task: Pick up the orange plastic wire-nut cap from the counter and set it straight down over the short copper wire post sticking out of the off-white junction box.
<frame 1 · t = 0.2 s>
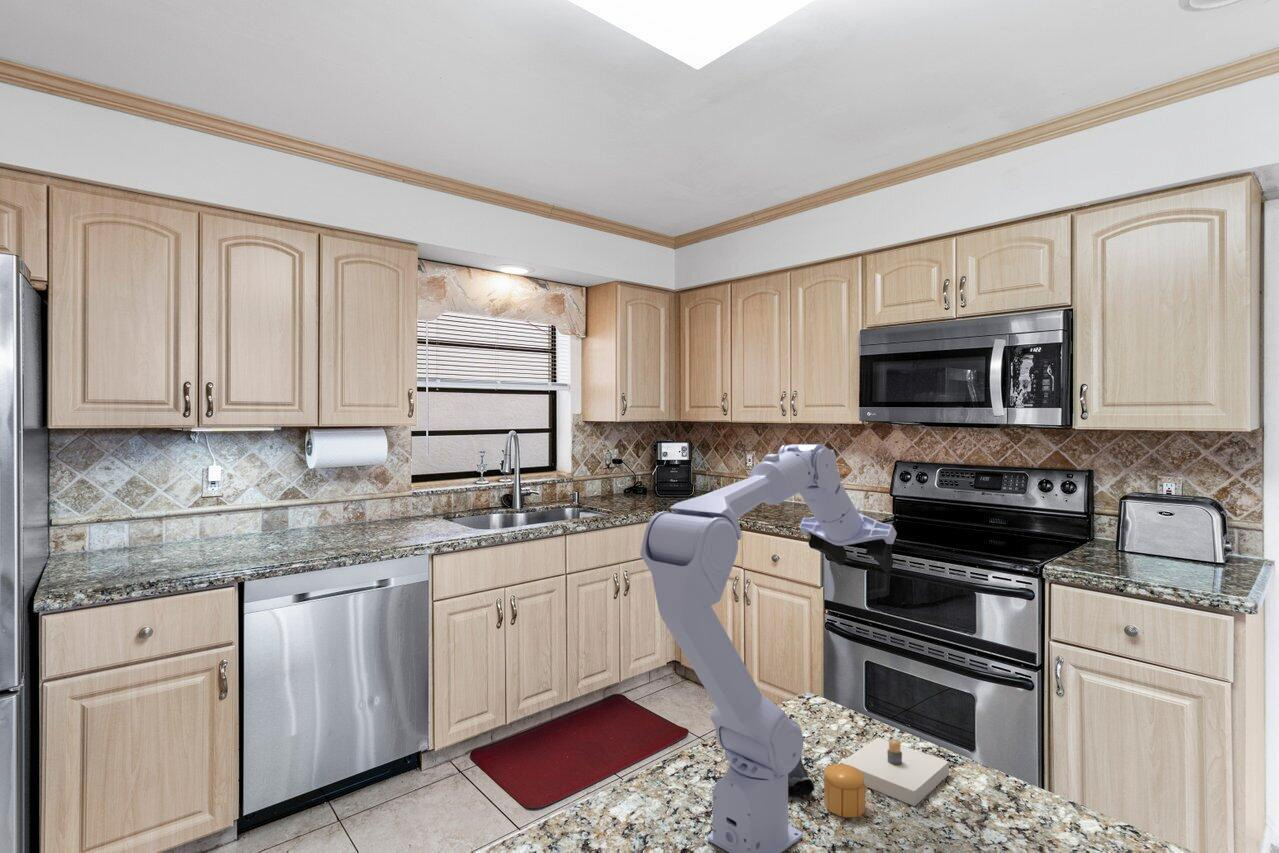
hand: (865, 563, 100), 31 cm above the countertop, tool tilted 45°, fingers open, 7 cm apart
electronic device: (774, 775, 97), on the countertop
wire nut cap: (844, 806, 87), on the countertop
junction box: (894, 775, 96), on the countertop
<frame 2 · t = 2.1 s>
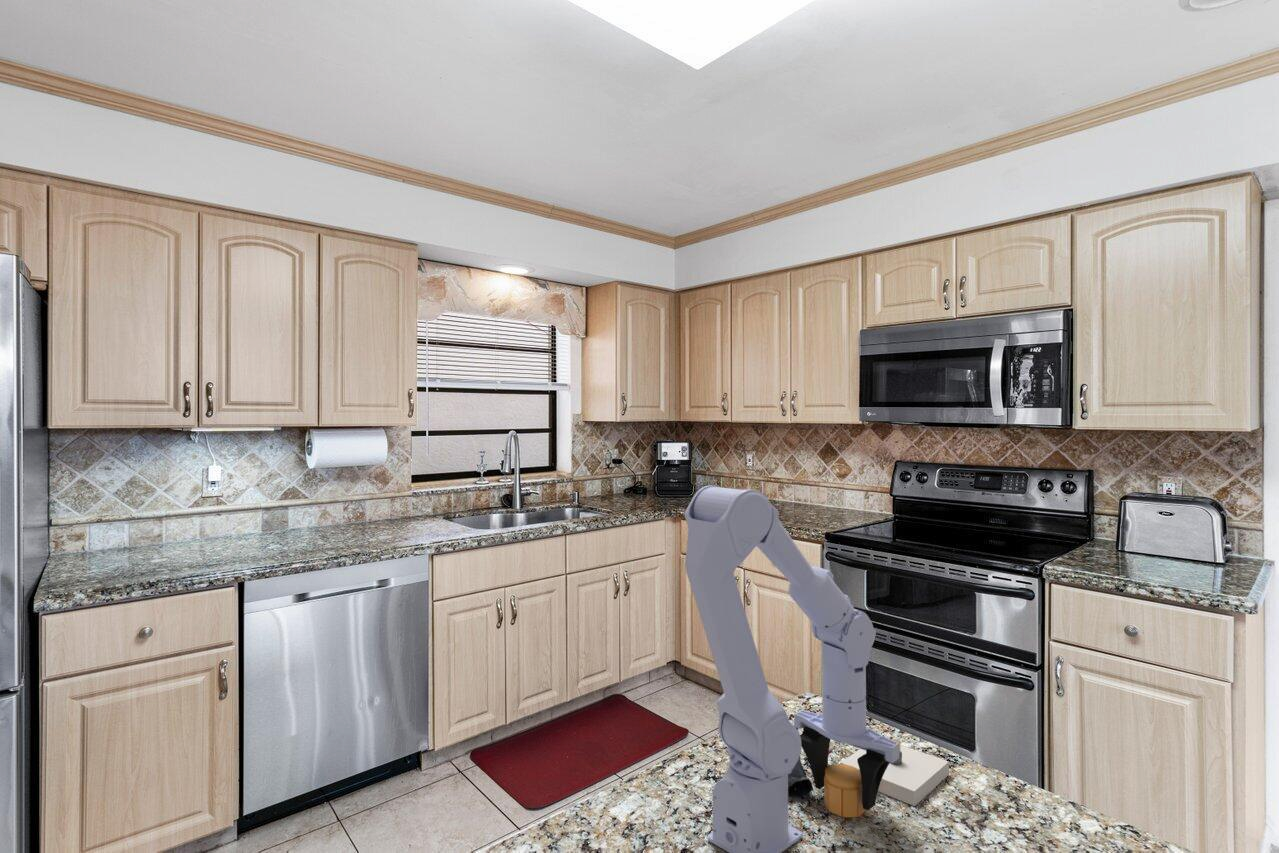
hand: (844, 796, 88), 1 cm above the countertop, tool pointing down, fingers open, 6 cm apart
nothing on the countertop moved.
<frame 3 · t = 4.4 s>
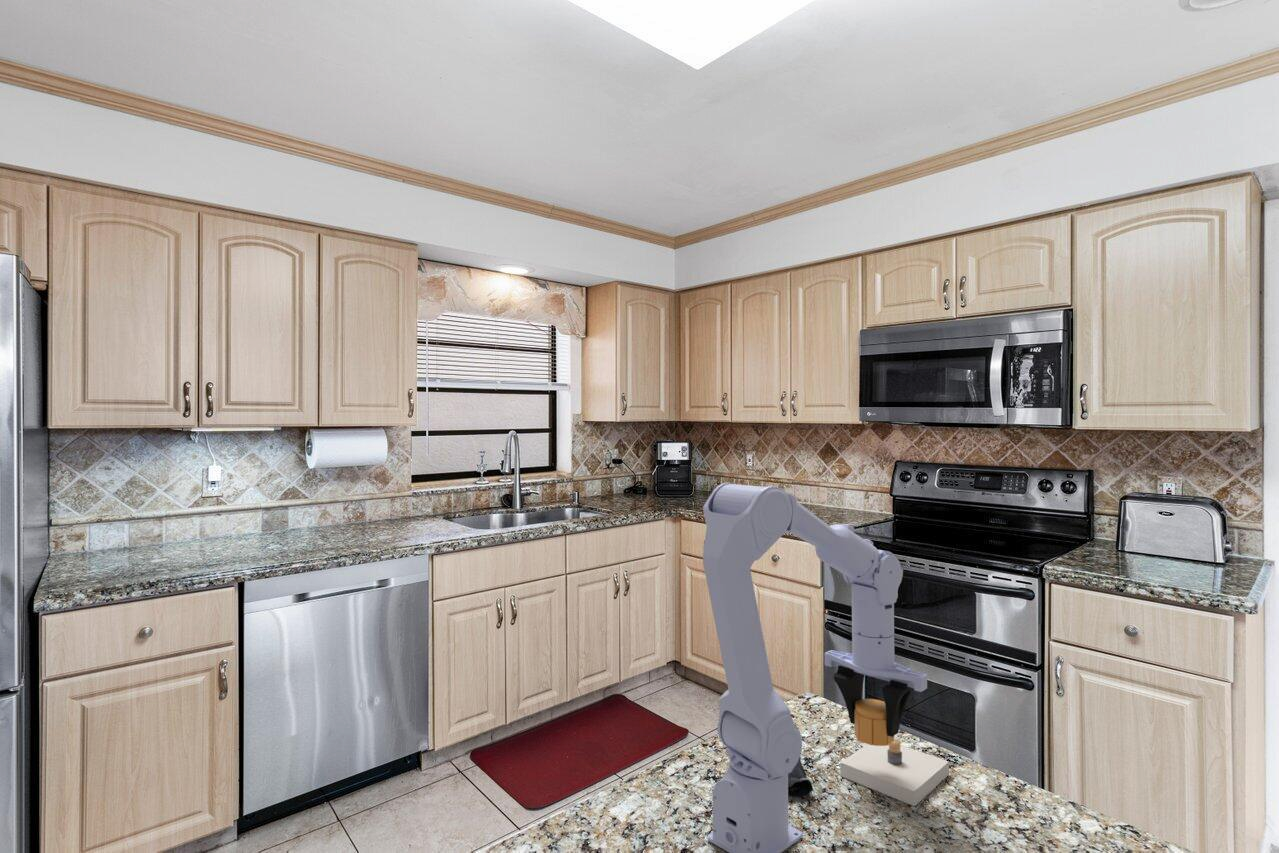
hand: (874, 727, 92), 9 cm above the countertop, tool pointing down, fingers closed on wire nut cap, 5 cm apart
wire nut cap: (874, 737, 92), point 7 cm above the countertop, touching gripper
everything else where it was.
when the fingers open (4 cm above the countertop, at t = 6.1 s): wire nut cap drops 1 cm, resting on junction box.
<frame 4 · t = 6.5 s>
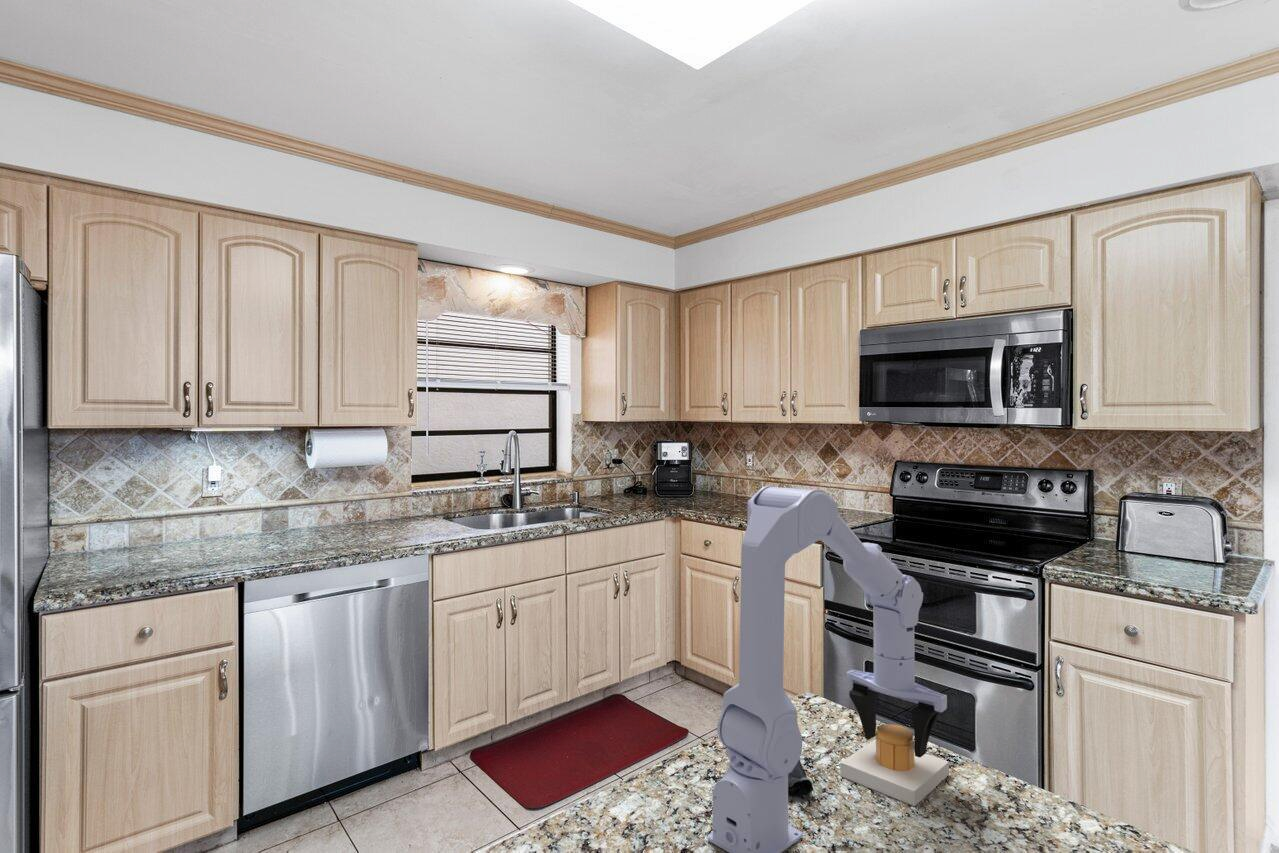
hand: (894, 745, 96), 4 cm above the countertop, tool pointing down, fingers open, 7 cm apart
wire nut cap: (895, 762, 96), point 2 cm above the countertop, touching junction box
everything else where it was.
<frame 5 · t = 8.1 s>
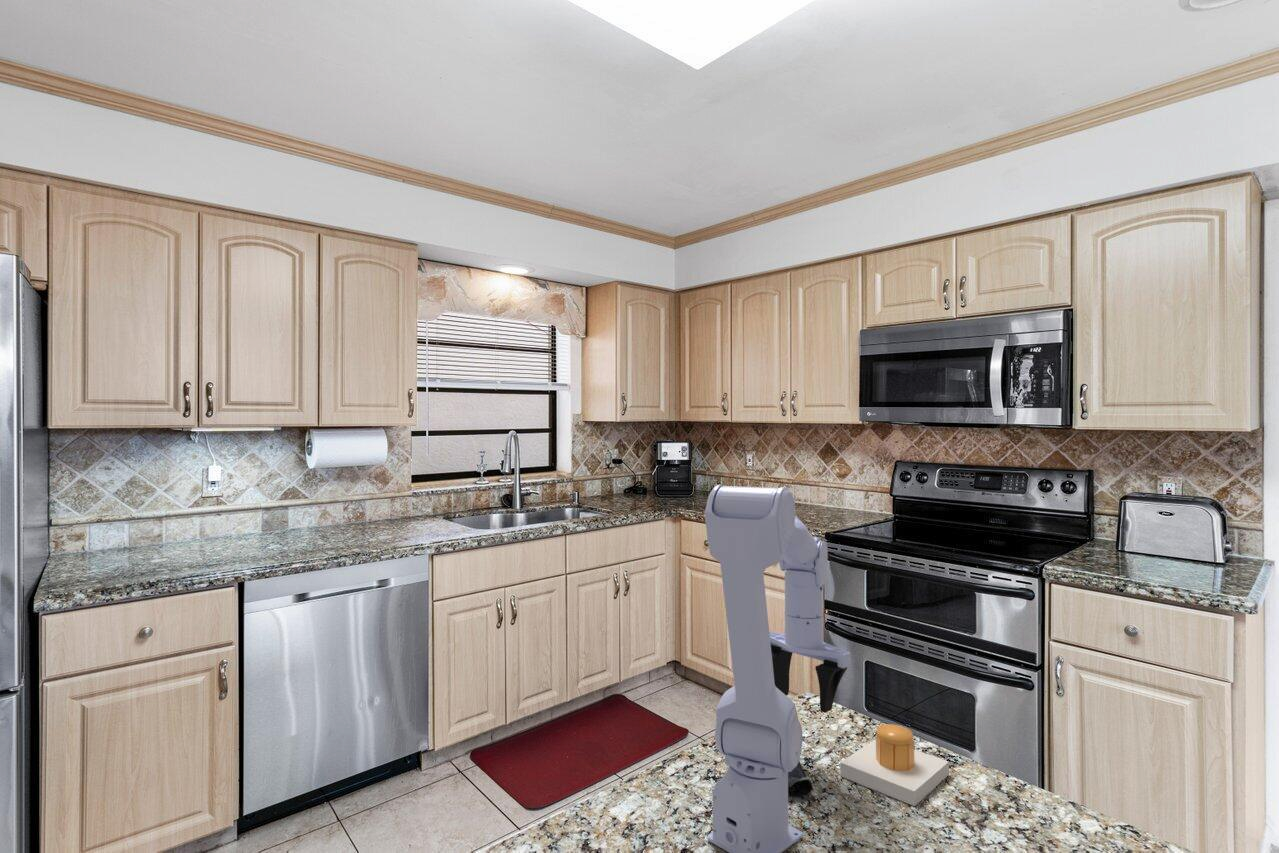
hand: (804, 702, 99), 9 cm above the countertop, tool pointing down, fingers open, 7 cm apart
nothing on the countertop moved.
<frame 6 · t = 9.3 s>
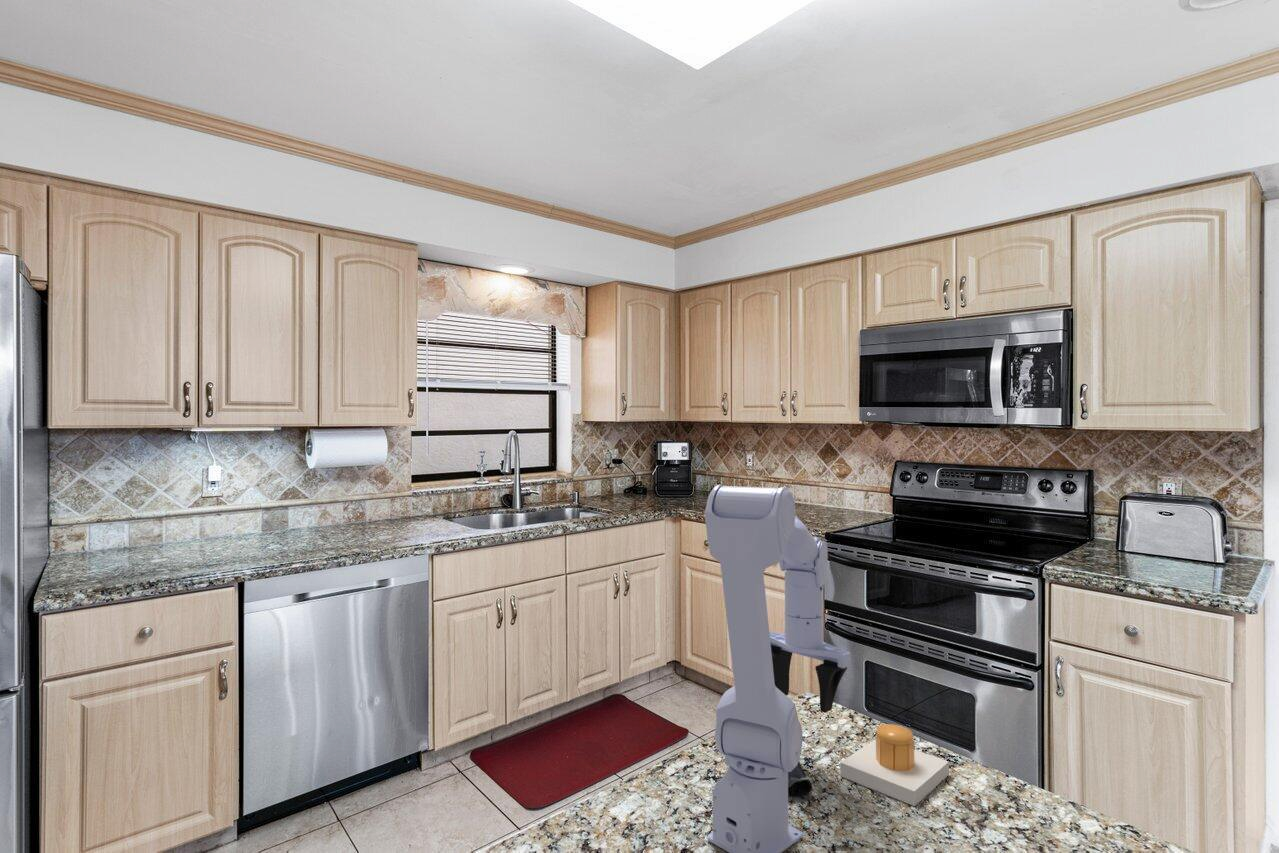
hand: (804, 702, 99), 9 cm above the countertop, tool pointing down, fingers open, 7 cm apart
nothing on the countertop moved.
at the end: wire nut cap 0.0 cm off-centre on the junction box, point 2.0 cm above the junction box's base; wire nut cap tilted 0°; the gripper is holding nothing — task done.
